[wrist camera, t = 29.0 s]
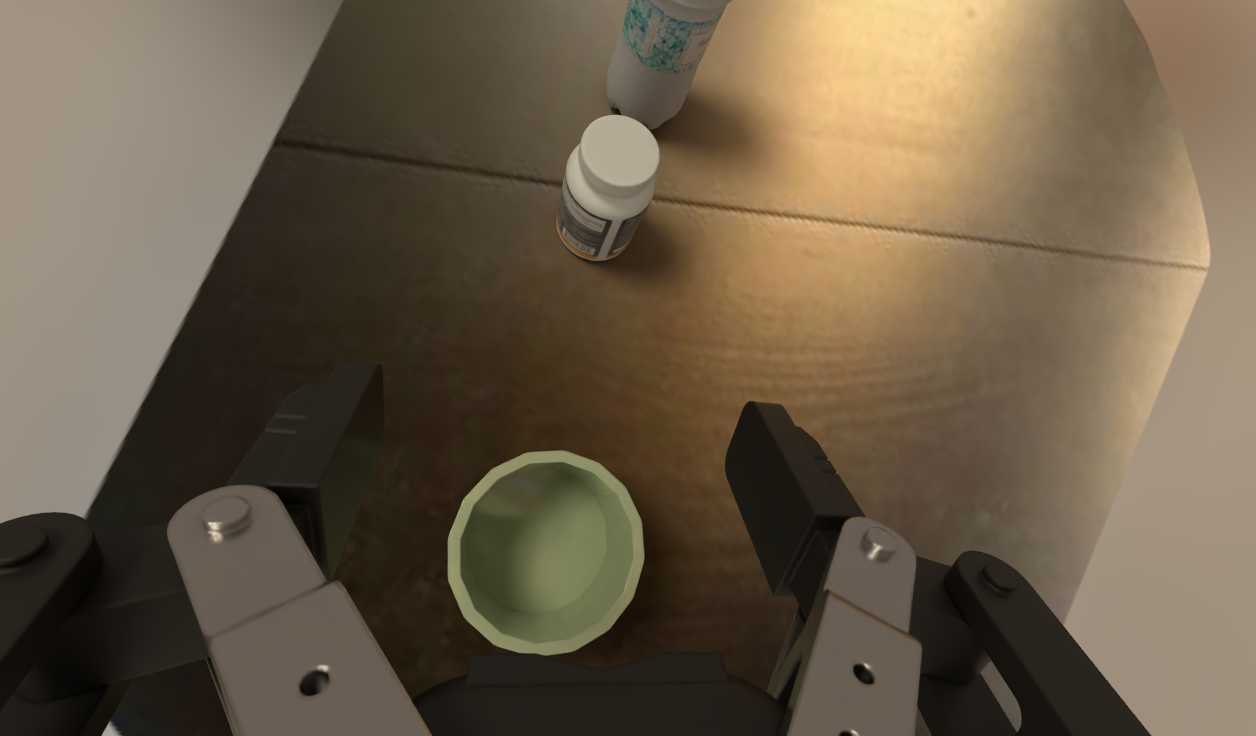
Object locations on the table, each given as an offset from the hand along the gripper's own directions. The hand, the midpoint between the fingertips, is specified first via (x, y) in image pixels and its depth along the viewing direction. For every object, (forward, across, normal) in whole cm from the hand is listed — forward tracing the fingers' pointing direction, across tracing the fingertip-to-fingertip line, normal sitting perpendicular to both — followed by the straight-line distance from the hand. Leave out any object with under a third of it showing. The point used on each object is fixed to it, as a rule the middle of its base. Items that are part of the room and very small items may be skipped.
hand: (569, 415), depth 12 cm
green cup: (+15, -2, +21) cm, 26 cm away
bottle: (+39, -7, -3) cm, 40 cm away
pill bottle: (+31, -4, +5) cm, 31 cm away
